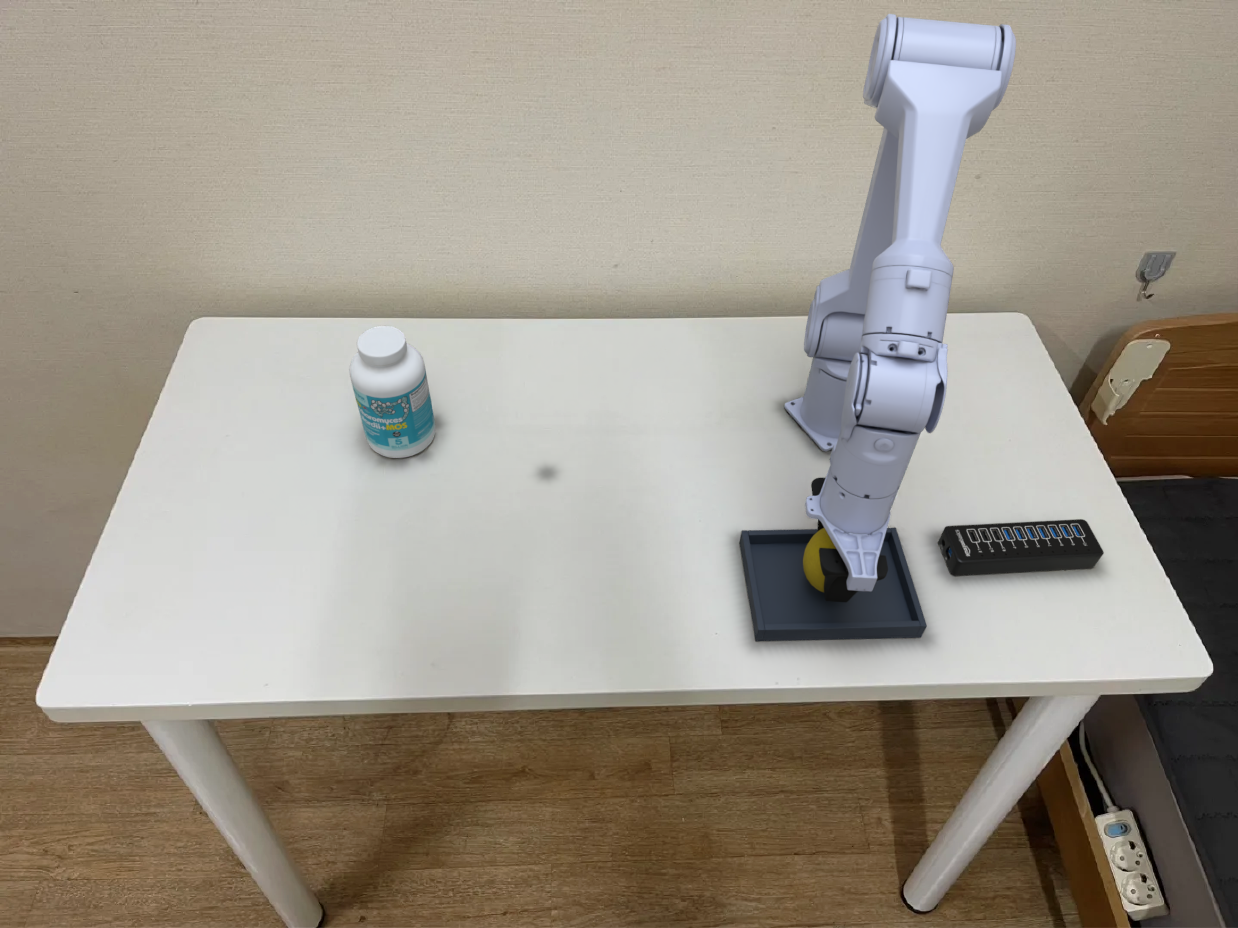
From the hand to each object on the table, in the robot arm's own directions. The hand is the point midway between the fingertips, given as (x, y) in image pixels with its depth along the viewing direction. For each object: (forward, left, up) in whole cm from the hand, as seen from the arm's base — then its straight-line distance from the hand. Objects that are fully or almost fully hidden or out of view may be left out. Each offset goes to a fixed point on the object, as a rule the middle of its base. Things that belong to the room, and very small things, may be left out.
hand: (832, 570), depth 82 cm
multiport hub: (-19, +5, -3) cm, 20 cm away
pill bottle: (+30, -37, -3) cm, 47 cm away
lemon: (0, 0, -3) cm, 3 cm away
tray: (0, 0, -3) cm, 3 cm away
